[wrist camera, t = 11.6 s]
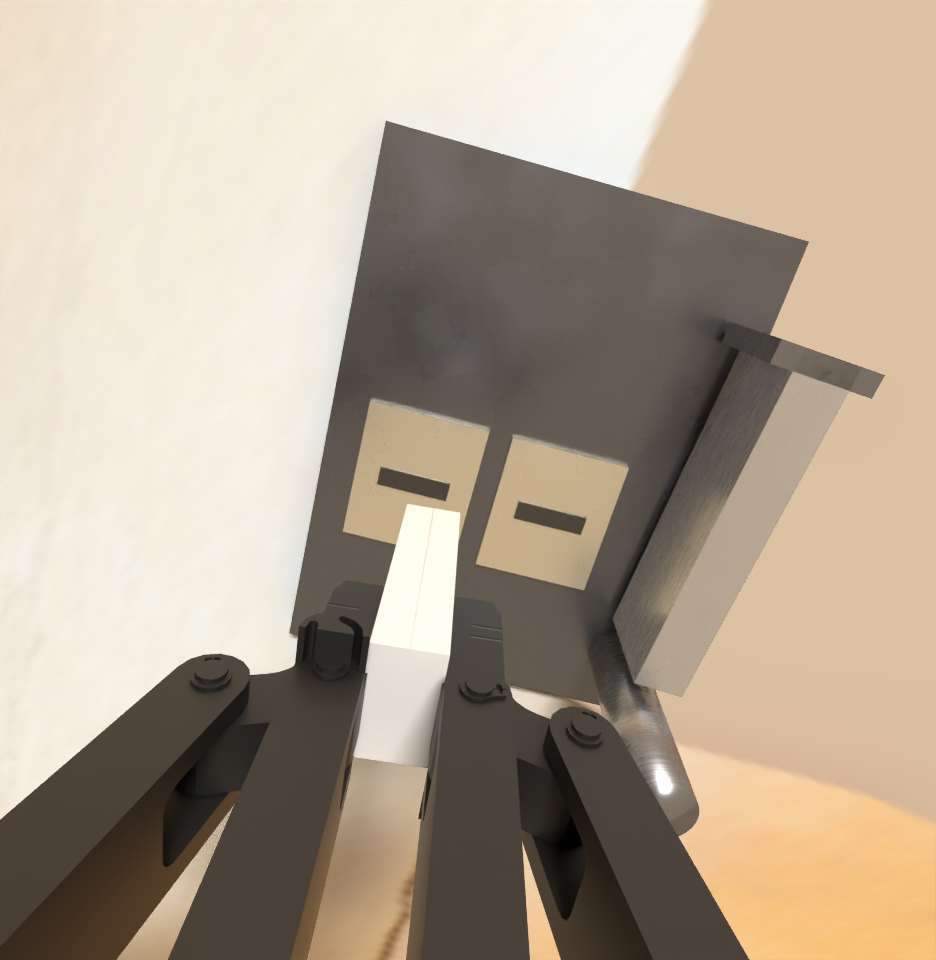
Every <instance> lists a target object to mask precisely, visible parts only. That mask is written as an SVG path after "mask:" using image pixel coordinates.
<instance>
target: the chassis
mask: <svg viewBox="0 0 936 960" xmlns="http://www.w3.org/2000/svg"><path fill="white" fill-rule="evenodd" d="M808 243H809V242H808V241H804V240H801V239H797V238H794V237H790V236H787V235H784V234H780V233H777V232H773V231H769V230H766V229H763V228H759V227H756V226H752V225H748V224H745V223H742V222H738V221H735V220H731V219H727V218H724V217H720V216H717V215H713V214H710V213H706V212H703V211H700V210H696V209H693V208H689V207H685V206H682V205H679V204H675V203H672V202H668V201H665V200H661V199H657V198H654V197H651V196H647V195H643V194H640V193H637V192H633V191H630V190H626V189H623V188H619V187H616V186H612V185H609V184H605V183H602V182H598V181H595V180H591V179H588V178H584V177H581V176H577V175H574V174H570V173H567V172H563V171H560V170H556V169H553V168H549V167H546V166H542V165H539V164H535V163H532V162H528V161H525V160H521V159H518V158H514V157H511V156H507V155H504V154H500V153H497V152H493V151H490V150H486V149H483V148H479V147H476V146H472V145H469V144H465V143H462V142H458V141H455V140H451V139H448V138H444V137H441V136H437V135H434V134H430V133H427V132H423V131H420V130H416V129H413V128H409V127H406V126H402V125H399V124H395V123H392V122H388V121H386V123H385V128H384V134H383V139H382V144H381V150H380V155H379V160H378V166H377V171H376V176H375V182H374V187H373V192H372V197H371V203H370V208H369V213H368V219H367V224H366V229H365V235H364V240H363V245H362V251H361V256H360V261H359V266H358V272H357V277H356V282H355V288H354V293H353V298H352V304H351V309H350V314H349V320H348V325H347V330H346V335H345V341H344V346H343V351H342V357H341V362H340V367H339V373H338V378H337V383H336V389H335V394H334V399H333V404H332V410H331V415H330V420H329V426H328V431H327V436H326V442H325V447H324V452H323V458H322V463H321V468H320V473H319V479H318V484H317V489H316V495H315V500H314V505H313V511H312V516H311V521H310V527H309V532H308V537H307V542H306V548H305V553H304V558H303V564H302V569H301V574H300V580H299V585H298V590H297V596H296V601H295V606H294V611H293V617H292V622H291V627H290V633H291V634H296V635H298V631H299V625H300V624H301V623H302V622H303V621H304V620H305V619H306V618H308V617H310V616H312V615H314V614H317V613H323V612H325V609H326V607H327V605H328V602H329V600H330V597H331V595H332V592H333V590H334V589H336V588H337V587H338V586H340V585H341V584H342V583H344V582H345V581H346V580H348V581H354V582H360V583H367V584H373V585H379V586H385V584H386V581H387V577H388V573H389V570H390V566H391V562H392V559H393V555H394V551H395V548H396V544H397V540H398V537H399V533H400V529H401V526H402V522H403V518H404V515H405V511H406V507H407V504H411V505H417V506H423V507H429V508H435V509H441V510H447V511H453V512H459V513H460V524H459V538H458V552H457V566H456V579H455V593H454V596H457V597H463V598H469V599H475V600H482V601H488V602H492V603H493V604H494V606H495V607H496V608H497V610H498V611H499V613H500V614H501V619H502V637H503V641H502V643H503V655H504V673H505V683H506V684H511V685H515V686H519V687H524V688H528V689H532V690H537V691H541V692H545V693H549V694H554V695H558V696H562V697H567V698H571V699H575V700H580V701H584V702H588V703H593V704H597V705H600V706H601V711H602V715H603V717H604V718H605V719H606V720H608V721H609V722H610V723H611V724H612V725H613V726H614V728H615V729H616V730H617V731H618V733H619V735H620V737H621V738H622V740H623V742H624V743H625V745H626V747H627V749H628V750H629V752H630V754H631V756H632V757H633V759H634V761H635V763H636V764H637V766H638V768H639V769H640V771H641V773H642V775H643V776H644V778H645V780H646V782H647V783H648V785H649V787H650V789H651V790H652V792H653V794H654V795H655V797H656V799H657V801H658V802H659V804H660V806H661V808H662V809H663V811H664V813H665V815H666V816H667V818H668V820H669V821H670V823H671V825H672V827H673V828H674V830H675V832H676V834H677V835H678V836H680V835H682V834H684V833H686V832H687V831H688V830H690V829H691V828H692V827H693V826H694V824H695V823H696V821H697V819H698V816H699V806H698V803H697V800H696V797H695V795H694V792H693V789H692V787H691V784H690V781H689V779H688V776H687V773H686V771H685V768H684V765H683V763H682V760H681V757H680V755H679V752H678V749H677V747H676V744H675V741H674V739H673V736H672V733H671V731H670V728H669V725H668V723H667V720H666V718H665V715H664V712H663V709H662V707H661V704H660V701H659V699H658V696H657V693H656V691H655V689H652V688H649V687H646V686H642V685H639V684H635V683H634V682H633V679H632V676H631V673H630V670H629V667H628V664H627V661H626V658H625V655H624V652H623V649H622V646H621V643H620V640H619V637H618V634H617V631H616V628H615V625H614V622H613V617H614V615H615V613H616V610H617V608H618V606H619V604H620V602H621V600H622V598H623V596H624V594H625V591H626V589H627V587H628V585H629V583H630V581H631V579H632V577H633V575H634V573H635V570H636V568H637V566H638V564H639V562H640V560H641V558H642V556H643V554H644V551H645V549H646V547H647V545H648V543H649V541H650V539H651V537H652V535H653V532H654V530H655V528H656V526H657V524H658V522H659V520H660V518H661V516H662V514H663V511H664V509H665V507H666V505H667V503H668V501H669V499H670V497H671V495H672V492H673V490H674V488H675V486H676V484H677V482H678V480H679V478H680V476H681V473H682V471H683V469H684V467H685V465H686V463H687V461H688V459H689V457H690V454H691V452H692V450H693V448H694V446H695V444H696V442H697V440H698V438H699V436H700V433H701V431H702V429H703V427H704V425H705V423H706V421H707V419H708V417H709V414H710V412H711V410H712V408H713V406H714V404H715V402H716V400H717V398H718V395H719V393H720V391H721V389H722V387H723V385H724V383H725V381H726V379H727V376H728V374H729V372H730V370H731V368H732V366H733V364H734V362H735V360H736V358H737V355H738V353H739V351H740V350H738V349H735V348H733V347H731V346H729V345H726V344H724V343H722V340H723V338H724V336H725V334H726V331H727V329H728V327H729V325H730V323H731V322H732V323H735V324H738V325H741V326H744V327H747V328H750V329H753V330H756V331H759V332H762V333H765V334H768V335H770V333H771V331H772V328H773V326H774V324H775V321H776V319H777V316H778V314H779V312H780V309H781V307H782V304H783V302H784V300H785V297H786V295H787V293H788V290H789V288H790V285H791V283H792V281H793V278H794V276H795V274H796V271H797V268H798V266H799V264H800V262H801V259H802V257H803V254H804V252H805V249H806V247H807V245H808Z"/></svg>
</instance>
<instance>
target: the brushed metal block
mask: <svg viewBox="0 0 936 960" xmlns="http://www.w3.org/2000/svg"><path fill="white" fill-rule="evenodd" d="M722 343H724V344H726V345H729V346H731V347H733V348H735V349H738V350H740V351H739V353H738V355H737V358H736V360H735V362H734V364H733V366H732V368H731V370H730V372H729V374H728V376H727V379H726V381H725V383H724V385H723V387H722V389H721V391H720V393H719V395H718V398H717V400H716V402H715V404H714V406H713V408H712V410H711V412H710V414H709V417H708V419H707V421H706V423H705V425H704V427H703V429H702V431H701V433H700V436H699V438H698V440H697V442H696V444H695V446H694V448H693V450H692V452H691V454H690V457H689V459H688V461H687V463H686V465H685V467H684V469H683V471H682V473H681V476H680V478H679V480H678V482H677V484H676V486H675V488H674V490H673V492H672V495H671V497H670V499H669V501H668V503H667V505H666V507H665V509H664V511H663V514H662V516H661V518H660V520H659V522H658V524H657V526H656V528H655V530H654V532H653V535H652V537H651V539H650V541H649V543H648V545H647V547H646V549H645V551H644V554H643V556H642V558H641V560H640V562H639V564H638V566H637V568H636V570H635V573H634V575H633V577H632V579H631V581H630V583H629V585H628V587H627V589H626V591H625V594H624V596H623V598H622V600H621V602H620V604H619V606H618V608H617V610H616V613H615V615H614V617H613V622H614V625H615V628H616V631H617V634H618V637H619V640H620V643H621V646H622V649H623V652H624V655H625V658H626V661H627V664H628V667H629V670H630V673H631V676H632V679H633V682H634V683H635V684H639V685H642V686H646V687H649V688H652V689H656V690H659V691H663V692H666V693H669V694H673V695H676V696H680V697H682V696H683V694H684V692H685V691H686V689H687V687H688V685H689V683H690V681H691V680H692V678H693V676H694V674H695V672H696V670H697V669H698V667H699V665H700V663H701V661H702V660H703V658H704V656H705V654H706V652H707V650H708V649H709V647H710V645H711V643H712V641H713V639H714V638H715V636H716V634H717V632H718V630H719V628H720V627H721V625H722V623H723V621H724V619H725V617H726V616H727V614H728V612H729V610H730V608H731V606H732V605H733V603H734V601H735V599H736V597H737V595H738V593H739V592H740V590H741V588H742V586H743V584H744V583H745V581H746V579H747V577H748V575H749V574H750V572H751V570H752V568H753V566H754V564H755V562H756V561H757V559H758V557H759V555H760V553H761V552H762V550H763V548H764V546H765V544H766V542H767V541H768V539H769V537H770V535H771V533H772V532H773V530H774V528H775V526H776V524H777V522H778V520H779V519H780V517H781V515H782V513H783V511H784V509H785V508H786V506H787V504H788V502H789V500H790V499H791V497H792V495H793V493H794V491H795V489H796V488H797V485H798V484H799V482H800V480H801V479H802V477H803V475H804V473H805V471H806V469H807V468H808V466H809V464H810V462H811V460H812V458H813V457H814V455H815V453H816V451H817V449H818V447H819V446H820V444H821V442H822V440H823V438H824V436H825V435H826V433H827V431H828V429H829V427H830V425H831V424H832V422H833V420H834V418H835V416H836V415H837V413H838V411H839V409H840V407H841V405H842V403H843V402H844V400H845V398H846V396H847V394H848V392H849V391H851V392H854V393H857V394H860V395H862V396H866V397H868V398H871V399H872V397H873V396H874V394H875V392H876V390H877V388H878V387H879V385H880V383H881V381H882V380H883V378H884V376H885V375H883V374H880V373H877V372H874V371H871V370H868V369H865V368H863V367H860V366H857V365H854V364H851V363H848V362H846V361H843V360H840V359H837V358H834V357H831V356H828V355H826V354H823V353H819V352H817V351H814V350H811V349H808V348H805V347H803V346H800V345H797V344H794V343H791V342H788V341H786V340H783V339H780V338H777V337H774V336H771V335H768V334H765V333H762V332H759V331H756V330H753V329H750V328H747V327H744V326H741V325H738V324H735V323H732V322H731V323H730V325H729V327H728V329H727V331H726V334H725V336H724V338H723V340H722Z"/></svg>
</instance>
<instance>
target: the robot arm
mask: <svg viewBox="0 0 936 960" xmlns="http://www.w3.org/2000/svg"><path fill="white" fill-rule="evenodd" d="M459 524H460V513H459V512H453V511H447V510H441V509H435V508H429V507H423V506H417V505H411V504H407V507H406V511H405V515H404V518H403V522H402V526H401V529H400V533H399V537H398V540H397V544H396V548H395V551H394V555H393V559H392V562H391V566H390V570H389V573H388V577H387V581H386V584H385V586H379V585H373V584H367V583H360V582H354V581H348V580H346V581H345V582H344V583H342V584H341V585H340V586H338V587H337V588H336V589H334V590H333V592H332V595H331V597H330V600H329V602H328V605H327V607H326V609H325V612H323V613H317V614H314V615H312V616H310V617H308V618H306V619H305V620H304V621H303V622H302V623H301V624H300V625H299V631H298V641H297V652H296V662H295V665H294V666H293V667H292V668H290V669H287V670H284V671H281V672H277V673H270V674H259V675H250V671H249V668H248V667H247V666H246V665H245V663H244V662H243V661H241V660H239V659H237V658H235V657H233V656H228V655H223V654H210V655H202V656H199V657H195V658H192V659H190V660H188V661H186V662H185V663H183V664H181V665H180V666H178V667H177V668H176V669H175V670H174V671H173V672H171V673H170V674H169V675H168V676H167V677H166V678H164V679H163V680H162V681H161V682H160V683H159V684H157V685H156V686H155V687H154V688H153V689H152V690H150V691H149V692H148V693H147V694H146V695H145V696H143V697H142V698H141V699H140V700H139V701H138V702H136V703H135V704H134V705H133V706H132V707H131V708H130V709H128V710H127V711H126V712H125V713H124V714H123V715H121V716H120V717H119V718H118V719H117V720H116V721H114V722H113V723H112V724H111V725H110V726H109V727H107V728H106V729H105V730H104V731H103V732H102V733H100V734H99V735H98V736H97V737H96V738H95V739H94V740H92V741H91V742H90V743H89V744H88V745H87V746H85V747H84V748H83V749H82V750H81V751H80V752H78V753H77V754H76V755H75V756H74V757H73V758H71V759H70V760H69V761H68V762H67V763H66V764H64V765H63V766H62V767H61V768H60V769H59V770H58V771H56V772H55V773H54V774H53V775H52V776H51V777H49V778H48V779H47V780H46V781H45V782H44V783H42V784H41V785H40V786H39V787H38V788H37V789H35V790H34V791H33V792H32V793H31V794H30V795H28V796H27V797H26V798H25V799H24V800H23V801H21V802H20V803H19V804H18V805H17V806H16V807H15V808H13V809H12V810H11V811H10V812H9V813H8V814H6V815H5V816H4V817H3V818H2V819H1V820H0V960H116V959H117V958H118V957H119V955H120V954H121V953H122V951H123V950H124V949H125V947H126V946H127V945H128V944H129V942H130V941H131V940H132V938H133V937H134V936H135V934H136V933H137V932H138V930H139V929H140V928H141V926H142V925H143V924H144V922H145V921H146V920H147V919H148V917H149V916H150V915H151V913H152V912H153V911H154V909H155V908H156V907H157V905H158V904H159V903H160V901H161V900H162V899H163V897H164V896H165V895H166V893H167V892H168V891H169V890H170V888H171V887H172V886H173V884H174V883H175V882H176V880H177V879H178V878H179V876H180V875H181V874H182V872H183V871H184V870H185V868H186V867H187V866H188V865H189V863H190V862H191V861H192V859H193V858H194V857H195V855H196V854H197V853H198V851H199V850H200V849H201V847H202V846H203V845H204V843H205V842H206V841H207V840H208V838H209V837H210V836H211V834H212V833H213V832H214V830H215V829H216V828H217V826H218V825H219V824H220V822H221V821H222V820H223V818H224V817H225V816H226V814H227V813H228V812H229V811H230V809H231V808H232V807H233V805H234V804H235V805H234V807H233V809H232V812H231V814H230V816H229V819H228V821H227V823H226V826H225V828H224V830H223V833H222V835H221V837H220V840H219V842H218V844H217V847H216V849H215V851H214V854H213V856H212V858H211V861H210V863H209V865H208V868H207V870H206V872H205V875H204V877H203V879H202V882H201V884H200V886H199V889H198V891H197V893H196V896H195V898H194V900H193V903H192V905H191V907H190V910H189V912H188V914H187V917H186V919H185V921H184V924H183V926H182V928H181V931H180V933H179V935H178V938H177V940H176V942H175V945H174V947H173V949H172V952H171V954H170V956H169V959H168V960H307V957H308V953H309V949H310V945H311V940H312V936H313V932H314V928H315V923H316V919H317V915H318V911H319V907H320V902H321V898H322V894H323V890H324V885H325V881H326V877H327V873H328V869H329V864H330V860H331V856H332V852H333V848H334V843H335V839H336V835H337V831H338V826H339V822H340V818H341V814H342V810H343V805H344V801H345V797H346V793H347V788H348V784H349V780H350V774H351V767H352V760H353V757H357V758H364V759H370V760H377V761H384V762H391V763H397V764H404V765H411V766H417V767H424V768H428V772H427V777H426V782H425V787H424V792H423V797H422V803H421V808H420V813H419V818H418V819H421V824H420V833H419V843H418V852H417V862H416V871H415V881H414V890H413V900H412V909H411V919H410V928H409V938H408V947H407V957H406V960H530V955H529V940H528V925H527V910H526V895H525V880H524V864H523V849H522V842H523V845H524V848H525V851H526V854H527V857H528V860H529V863H530V866H531V869H532V872H533V875H534V878H535V881H536V884H537V888H538V891H539V894H540V897H541V900H542V903H543V906H544V909H545V912H546V915H547V918H548V921H549V924H550V927H551V930H552V933H553V936H554V940H555V943H556V946H557V949H558V952H559V955H560V958H561V960H749V958H748V957H747V955H746V953H745V952H744V950H743V948H742V946H741V945H740V943H739V941H738V939H737V938H736V936H735V934H734V932H733V931H732V929H731V927H730V926H729V924H728V922H727V920H726V919H725V917H724V915H723V913H722V912H721V910H720V908H719V906H718V905H717V903H716V901H715V900H714V898H713V896H712V894H711V893H710V891H709V889H708V887H707V886H706V884H705V882H704V880H703V879H702V877H701V875H700V874H699V872H698V870H697V868H696V867H695V865H694V863H693V861H692V860H691V858H690V856H689V854H688V853H687V851H686V849H685V848H684V846H683V844H682V842H681V841H680V839H679V837H678V835H677V834H676V832H675V830H674V828H673V827H672V825H671V823H670V821H669V820H668V818H667V816H666V815H665V813H664V811H663V809H662V808H661V806H660V804H659V802H658V801H657V799H656V797H655V795H654V794H653V792H652V790H651V789H650V787H649V785H648V783H647V782H646V780H645V778H644V776H643V775H642V773H641V771H640V769H639V768H638V766H637V764H636V763H635V761H634V759H633V757H632V756H631V754H630V752H629V750H628V749H627V747H626V745H625V743H624V742H623V740H622V738H621V737H620V735H619V733H618V731H617V730H616V729H615V728H614V726H613V725H612V724H611V723H610V722H609V721H608V720H606V719H605V718H604V717H602V716H601V715H599V714H598V713H595V712H593V711H590V710H588V709H585V708H577V707H568V708H563V709H560V710H558V711H557V712H555V713H554V714H553V715H552V717H551V719H548V718H546V717H543V716H541V715H538V714H536V713H533V712H531V711H529V710H527V709H525V708H524V707H523V706H521V705H520V704H518V703H517V702H516V701H515V700H514V699H513V698H512V693H511V690H510V687H509V686H508V685H507V684H506V683H505V673H504V655H503V643H502V641H503V637H502V619H501V614H500V613H499V611H498V610H497V608H496V607H495V606H494V604H493V603H492V602H488V601H482V600H475V599H469V598H463V597H457V596H454V593H455V579H456V566H457V552H458V538H459ZM353 755H354V756H353ZM428 765H429V766H428Z"/></svg>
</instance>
